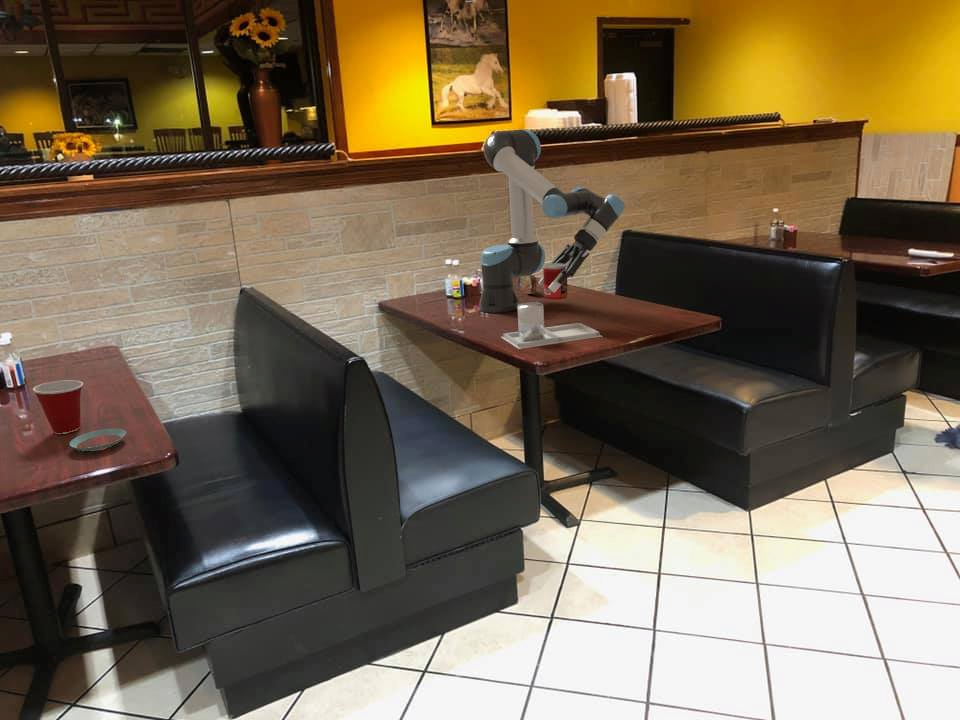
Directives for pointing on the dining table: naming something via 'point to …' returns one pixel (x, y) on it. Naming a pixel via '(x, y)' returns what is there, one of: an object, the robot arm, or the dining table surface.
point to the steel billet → (531, 321)
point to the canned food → (549, 276)
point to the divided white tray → (555, 335)
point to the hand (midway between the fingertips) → (546, 287)
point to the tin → (527, 283)
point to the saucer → (93, 434)
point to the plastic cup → (61, 404)
